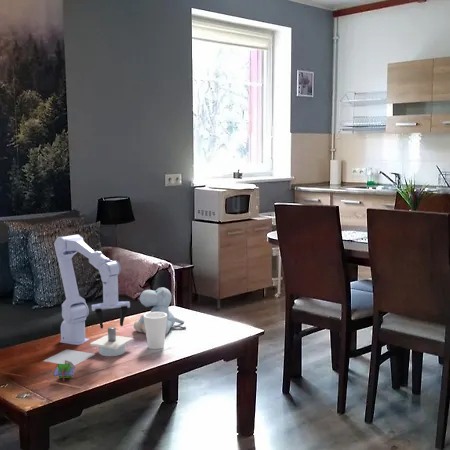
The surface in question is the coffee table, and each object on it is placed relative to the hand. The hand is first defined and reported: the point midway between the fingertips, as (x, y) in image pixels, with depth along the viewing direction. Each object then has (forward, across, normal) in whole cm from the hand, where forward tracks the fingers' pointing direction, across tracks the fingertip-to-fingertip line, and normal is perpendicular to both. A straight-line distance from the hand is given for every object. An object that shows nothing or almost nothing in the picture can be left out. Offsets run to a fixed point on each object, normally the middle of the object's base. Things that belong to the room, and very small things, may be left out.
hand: (111, 326), depth 235 cm
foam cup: (+11, +18, +1) cm, 21 cm away
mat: (+10, -16, -1) cm, 19 cm away
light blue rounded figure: (+11, +26, +23) cm, 36 cm away
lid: (+6, 0, 0) cm, 6 cm away
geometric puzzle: (+11, -20, -22) cm, 32 cm away
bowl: (+10, 0, 0) cm, 10 cm away
